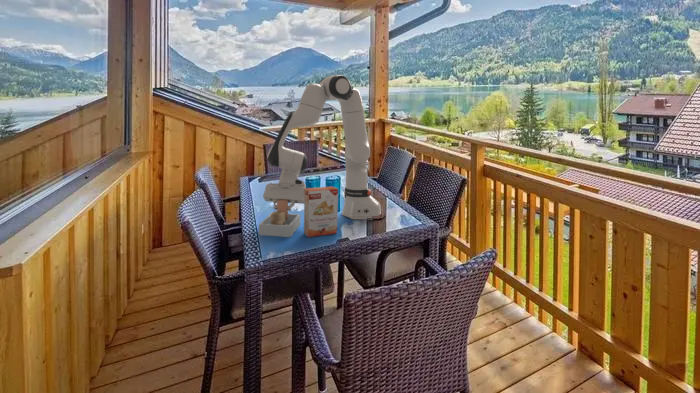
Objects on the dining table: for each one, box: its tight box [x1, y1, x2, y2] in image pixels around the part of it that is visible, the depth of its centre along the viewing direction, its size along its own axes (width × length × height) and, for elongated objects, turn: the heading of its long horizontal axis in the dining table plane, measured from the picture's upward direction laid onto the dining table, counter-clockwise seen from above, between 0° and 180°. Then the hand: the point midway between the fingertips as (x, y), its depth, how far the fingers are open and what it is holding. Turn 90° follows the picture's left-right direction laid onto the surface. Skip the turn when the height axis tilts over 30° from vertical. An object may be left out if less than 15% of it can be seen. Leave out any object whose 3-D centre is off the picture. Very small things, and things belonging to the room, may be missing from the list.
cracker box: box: [303, 186, 339, 238], centre depth 178 cm, size 14×6×21 cm, turn 117°
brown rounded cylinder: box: [276, 199, 289, 221], centre depth 186 cm, size 5×5×9 cm
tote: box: [258, 212, 301, 238], centre depth 184 cm, size 14×18×5 cm
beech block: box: [270, 210, 285, 225], centre depth 179 cm, size 5×5×8 cm
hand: (282, 209), depth 185 cm, fingers closed on brown rounded cylinder, 5 cm apart
